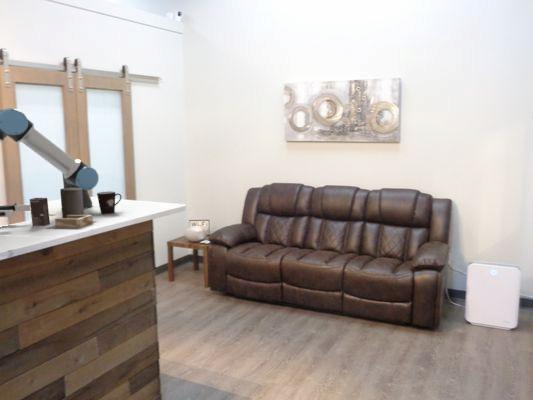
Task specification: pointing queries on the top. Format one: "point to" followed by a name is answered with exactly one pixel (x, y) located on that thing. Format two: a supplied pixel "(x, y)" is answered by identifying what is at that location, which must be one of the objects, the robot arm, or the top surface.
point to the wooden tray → (74, 221)
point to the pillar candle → (71, 201)
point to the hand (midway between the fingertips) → (21, 210)
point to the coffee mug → (107, 202)
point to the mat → (66, 227)
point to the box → (39, 211)
